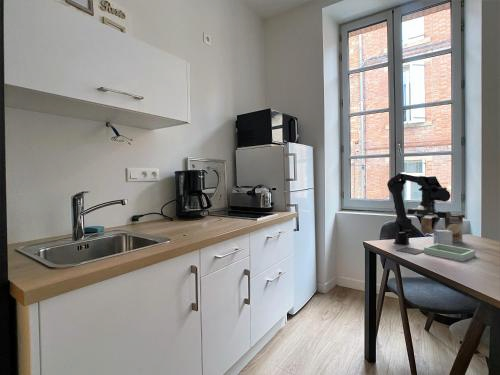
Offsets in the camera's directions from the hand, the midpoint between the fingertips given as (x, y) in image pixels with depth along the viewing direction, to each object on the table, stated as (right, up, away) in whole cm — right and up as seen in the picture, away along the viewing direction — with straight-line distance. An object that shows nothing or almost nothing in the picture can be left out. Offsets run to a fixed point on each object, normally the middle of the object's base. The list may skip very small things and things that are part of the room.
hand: (427, 228), depth 139 cm
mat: (-7, -13, +4) cm, 15 cm away
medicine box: (+18, -12, +13) cm, 25 cm away
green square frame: (+8, -13, -4) cm, 16 cm away
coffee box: (+30, -11, +23) cm, 40 cm away
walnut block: (0, -2, 0) cm, 2 cm away
